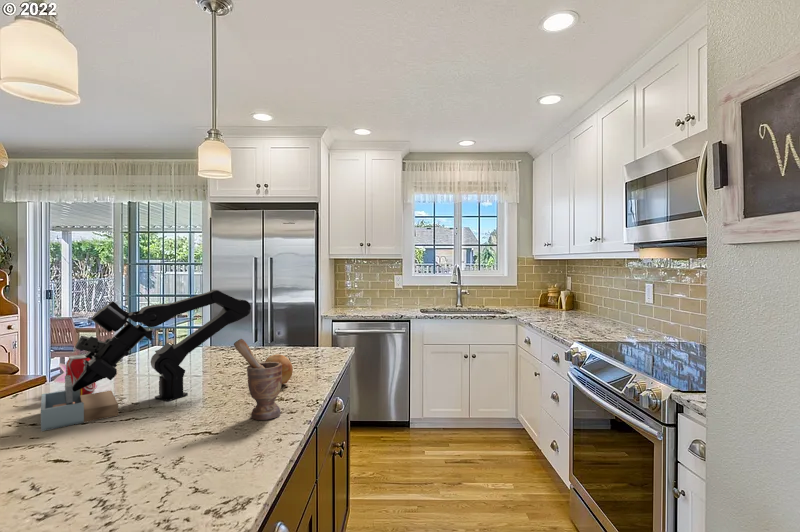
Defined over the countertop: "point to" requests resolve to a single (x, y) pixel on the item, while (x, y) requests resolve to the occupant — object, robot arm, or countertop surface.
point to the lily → (63, 375)
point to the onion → (286, 366)
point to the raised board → (99, 405)
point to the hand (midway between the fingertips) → (72, 390)
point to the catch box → (60, 410)
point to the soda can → (78, 372)
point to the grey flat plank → (68, 390)
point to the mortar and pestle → (262, 383)
